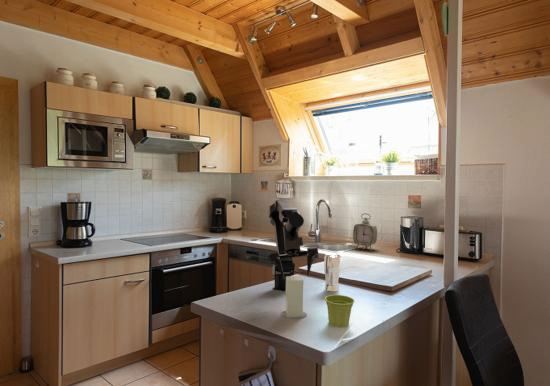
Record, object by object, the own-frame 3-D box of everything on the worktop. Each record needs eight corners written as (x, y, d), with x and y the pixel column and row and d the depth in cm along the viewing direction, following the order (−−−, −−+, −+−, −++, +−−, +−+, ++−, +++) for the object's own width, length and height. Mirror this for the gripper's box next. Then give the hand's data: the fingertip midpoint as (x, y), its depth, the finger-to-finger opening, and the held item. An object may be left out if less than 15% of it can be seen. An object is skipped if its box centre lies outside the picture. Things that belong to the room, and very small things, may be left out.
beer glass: (327, 287, 167) (328, 253, 166) (342, 289, 163) (343, 255, 163) (320, 290, 161) (321, 255, 160) (336, 293, 157) (337, 257, 157)
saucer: (276, 318, 127) (276, 316, 127) (287, 310, 135) (287, 308, 135) (300, 323, 123) (300, 321, 123) (310, 315, 131) (310, 312, 131)
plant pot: (351, 320, 127) (351, 295, 126) (356, 332, 117) (356, 304, 117) (323, 319, 127) (323, 294, 127) (325, 331, 118) (326, 303, 117)
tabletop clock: (352, 248, 263) (353, 213, 262) (358, 247, 270) (359, 212, 270) (372, 251, 254) (373, 214, 254) (377, 249, 262) (378, 213, 261)
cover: (285, 311, 132) (286, 276, 131) (300, 311, 132) (300, 276, 132) (287, 317, 126) (287, 280, 126) (302, 317, 127) (303, 280, 127)
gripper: (264, 233, 140) (267, 274, 133) (314, 226, 139) (320, 268, 131) (269, 243, 150) (272, 282, 143) (315, 237, 149) (321, 276, 141)
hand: (296, 277), depth 139 cm, fingers open, 9 cm apart
